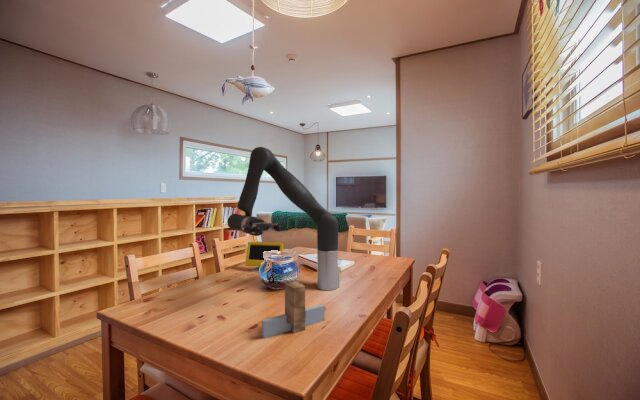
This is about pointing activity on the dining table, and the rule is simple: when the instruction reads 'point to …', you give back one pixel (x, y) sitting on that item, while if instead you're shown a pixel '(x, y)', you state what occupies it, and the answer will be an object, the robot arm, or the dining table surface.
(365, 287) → the dining table surface
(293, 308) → the walnut block
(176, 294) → the dining table surface
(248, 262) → the alarm clock
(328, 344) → the dining table surface
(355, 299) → the dining table surface
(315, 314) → the slate rail
